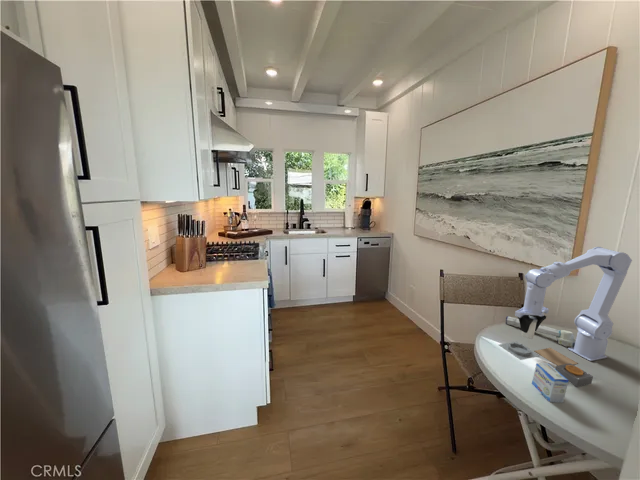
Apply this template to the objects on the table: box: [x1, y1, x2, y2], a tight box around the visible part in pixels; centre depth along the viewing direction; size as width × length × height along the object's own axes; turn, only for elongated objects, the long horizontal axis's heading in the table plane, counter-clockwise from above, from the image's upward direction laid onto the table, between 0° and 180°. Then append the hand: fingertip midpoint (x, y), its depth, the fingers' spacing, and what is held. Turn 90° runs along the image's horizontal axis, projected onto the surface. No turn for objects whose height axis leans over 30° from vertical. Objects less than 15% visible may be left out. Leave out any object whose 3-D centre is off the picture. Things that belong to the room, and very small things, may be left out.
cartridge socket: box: [498, 341, 541, 361], centre depth 110 cm, size 10×10×2 cm
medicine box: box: [531, 362, 570, 404], centre depth 87 cm, size 8×4×9 cm, turn 178°
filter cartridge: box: [520, 315, 537, 340], centre depth 106 cm, size 4×4×8 cm
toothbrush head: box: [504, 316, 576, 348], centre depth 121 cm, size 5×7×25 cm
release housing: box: [554, 363, 594, 388], centre depth 94 cm, size 7×7×3 cm
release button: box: [565, 365, 584, 376], centre depth 94 cm, size 5×5×4 cm
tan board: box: [533, 347, 579, 366], centre depth 105 cm, size 9×10×1 cm
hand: (528, 330), depth 107 cm, fingers closed on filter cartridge, 4 cm apart
